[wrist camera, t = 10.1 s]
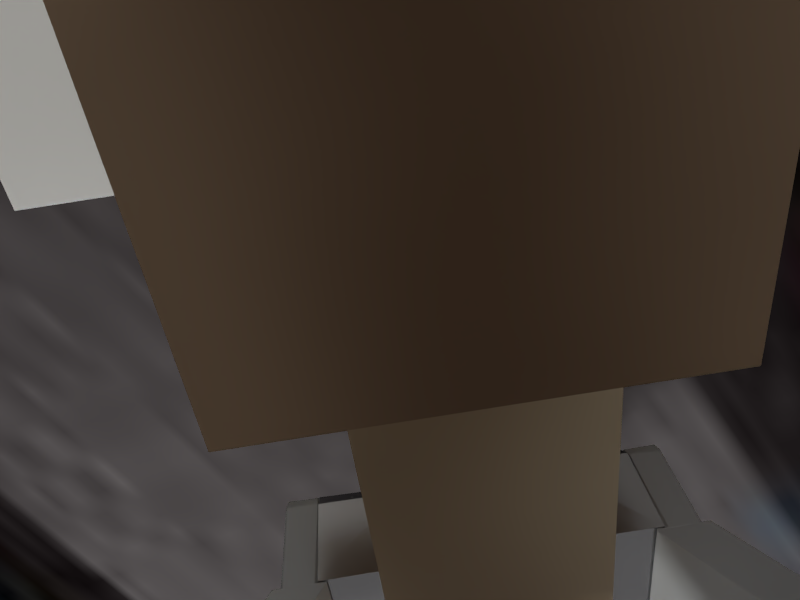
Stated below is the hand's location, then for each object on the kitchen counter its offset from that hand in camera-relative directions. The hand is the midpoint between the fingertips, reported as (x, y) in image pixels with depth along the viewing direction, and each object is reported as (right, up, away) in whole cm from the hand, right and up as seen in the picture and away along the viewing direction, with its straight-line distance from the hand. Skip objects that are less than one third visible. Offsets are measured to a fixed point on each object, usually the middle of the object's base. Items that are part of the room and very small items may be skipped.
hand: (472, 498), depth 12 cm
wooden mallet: (0, +1, +1) cm, 2 cm away
